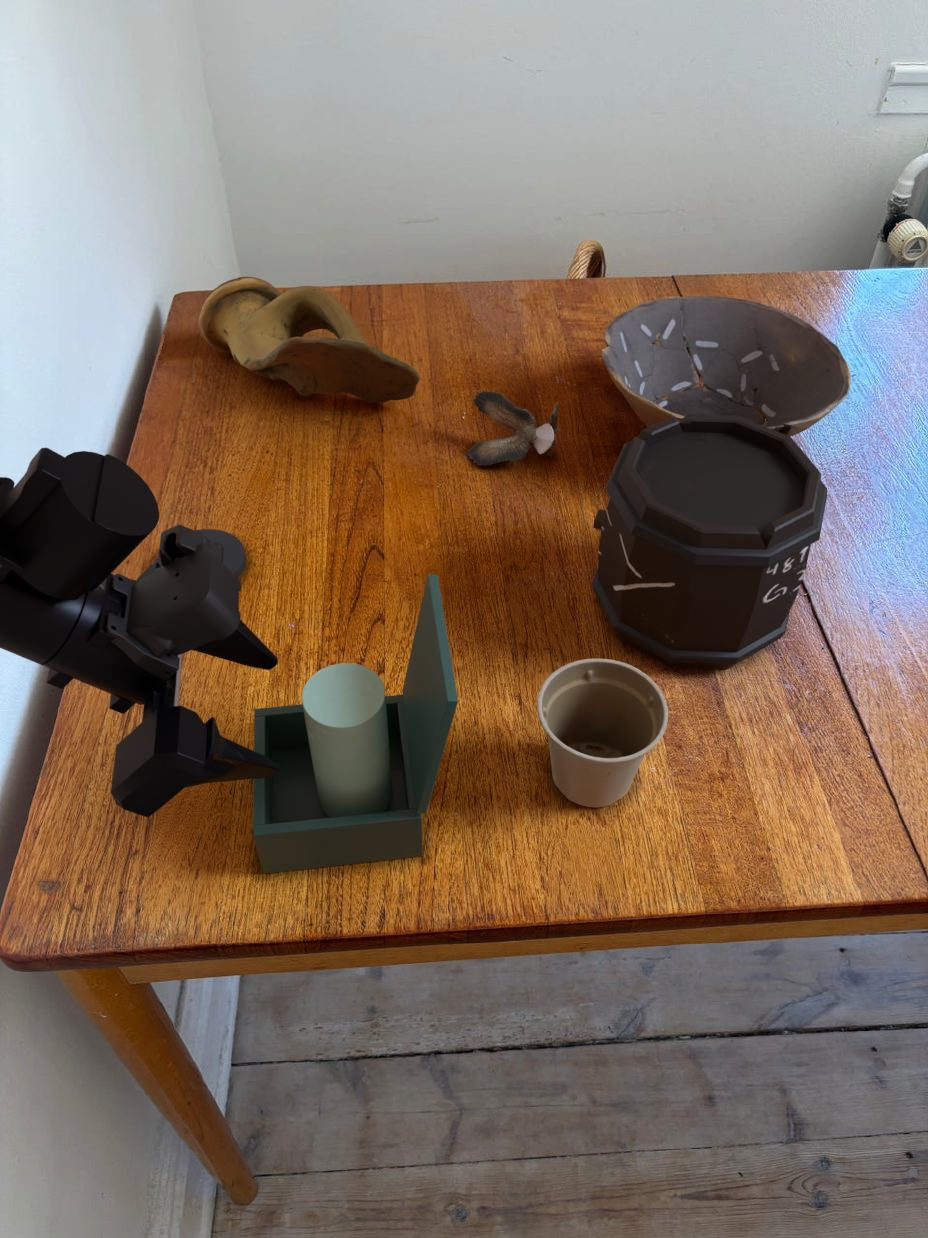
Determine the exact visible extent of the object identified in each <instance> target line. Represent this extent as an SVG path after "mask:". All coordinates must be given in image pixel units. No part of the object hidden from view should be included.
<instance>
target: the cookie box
mask: <svg viewBox="0 0 928 1238" xmlns="http://www.w3.org/2000/svg"><path fill="white" fill-rule="evenodd" d="M386 709H387V723H388V736H389V750H390V764H391V777H392V799H391V802H390V804H389V806H388V808H387V809H386V810H385V812H380V813H370V814H361V815H352V816H342V817H333V818H329V817H328V816H327V815H326V814H325V813H324V811H323V810H322V808H321V806H320V803H319V798H318V792H317V786H316V780H315V775H314V769H313V763H312V757H311V751H310V745H309V739H308V734H307V728H306V722H305V716H304V710H303V704H302V703H301V704H292V705H291V704H289V705H280V706H279V705H278V706H269V707H260V708H254V711H253V713H254V714H253V715H254V718H253V720H254V723H253V725H254V727H253V751H255V752H257V753H259V754H261V755H264V756H265V757H267V758H269V759H270V760H272V761H274V762H275V763H277V764H278V765H279V771H278V772H277V773H276V774H275V775H273V776H272V777H269V778H260V779H253V799H252V804H253V805H252V806H253V807H252V810H253V811H252V812H253V813H252V837H253V841H254V844H255V848H256V852H257V855H258V860H259V863H260V866H261V871H262V873H263V874H264V875H266V874H274V873H275V874H276V873H284V872H292V871H293V872H294V871H301V870H311V869H317V868H318V869H319V868H320V869H321V868H326V867H327V868H328V867H336V866H347V865H356V864H364V863H365V864H366V863H372V862H381V861H391V860H399V859H400V860H401V859H409V858H410V859H411V858H417V857H419V858H420V857H423V856H424V847H423V843H424V842H423V818H422V814H417V811H416V803H415V794H414V786H413V777H412V768H411V760H410V751H409V743H408V734H407V725H406V717H405V708H404V700H403V694H395V695H386Z"/></svg>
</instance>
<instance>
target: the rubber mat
mask: <svg viewBox="0 0 928 1238" xmlns="http://www.w3.org/2000/svg"><path fill="white" fill-rule="evenodd" d="M194 531H196V532H199V533H201V534H203V535H205V536H206V537H207V538H208V539H209V540H210V541H211V542H212V543H220V544H221V545H222V546H223V547H224V558H223V564H224V565H225V566H226V567H227V568H228V569H229V570H230V571H231V572H232V573H233V575H234V576H235V577H236V578H237V579H238V580H239V579H240V577H241V576H242V574H243V573H244V571H245V568H246V564H247V557H246V551H245V547H244V544H243V543H242V542H241V541H240V539H239V538H238V537H236V536H235V535H234V534H232V533H230V532H227V531H225V530H222V529H221V530H220V529H213V528H203V529H194ZM159 556H160V555H159V554H158V557H159Z"/></svg>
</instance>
